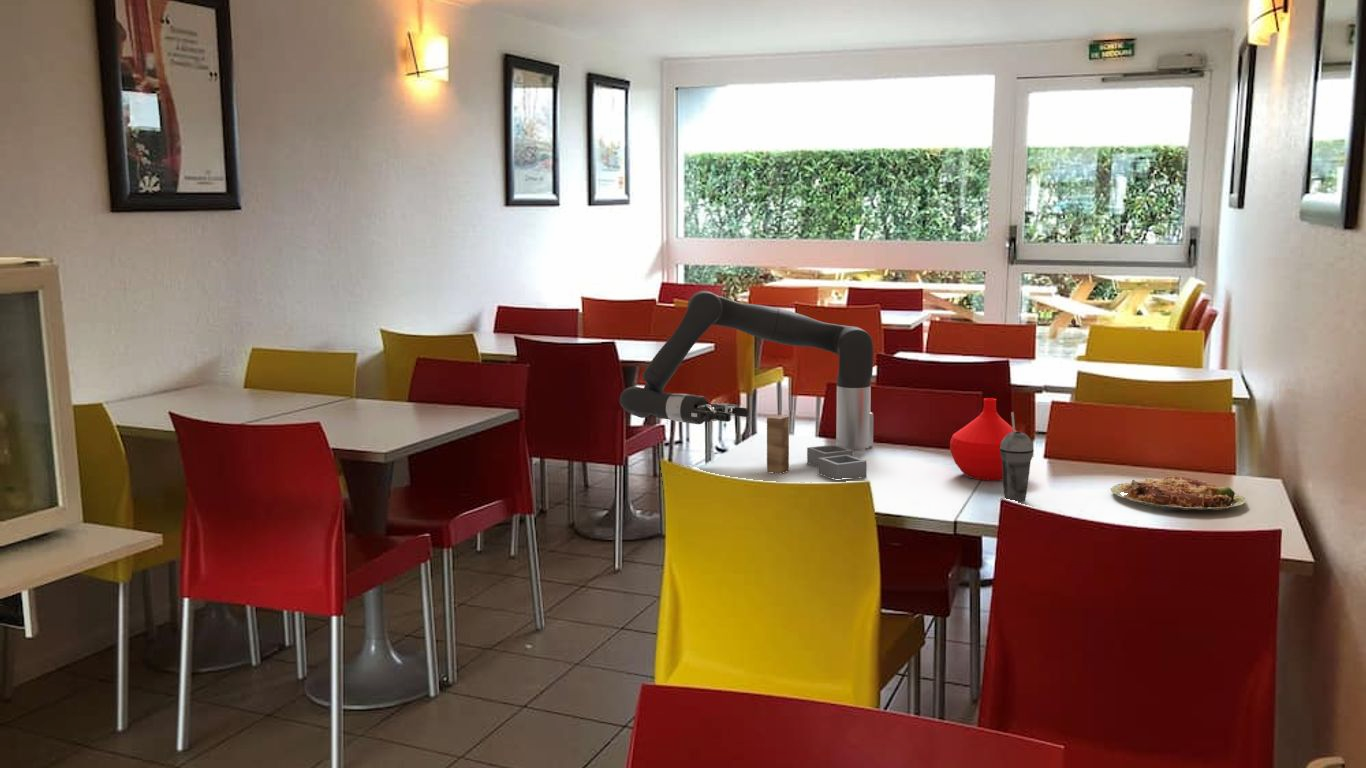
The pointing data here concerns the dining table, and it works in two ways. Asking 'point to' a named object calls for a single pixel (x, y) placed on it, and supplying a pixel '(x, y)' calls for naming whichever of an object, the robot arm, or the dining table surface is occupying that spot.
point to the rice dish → (1179, 494)
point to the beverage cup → (1016, 464)
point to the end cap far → (825, 453)
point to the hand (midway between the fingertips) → (739, 415)
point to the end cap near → (842, 467)
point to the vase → (981, 444)
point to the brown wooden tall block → (777, 444)
